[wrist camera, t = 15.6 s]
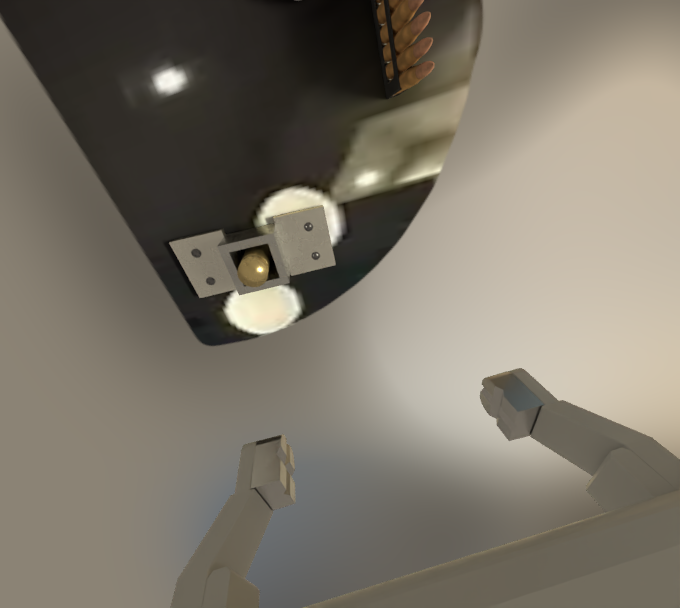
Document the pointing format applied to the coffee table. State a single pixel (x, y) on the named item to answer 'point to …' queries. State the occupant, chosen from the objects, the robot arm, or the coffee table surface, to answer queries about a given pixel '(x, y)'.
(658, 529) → the robot arm
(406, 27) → the ammunition clip
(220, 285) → the hinge
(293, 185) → the coffee table surface
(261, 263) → the hinge pin
